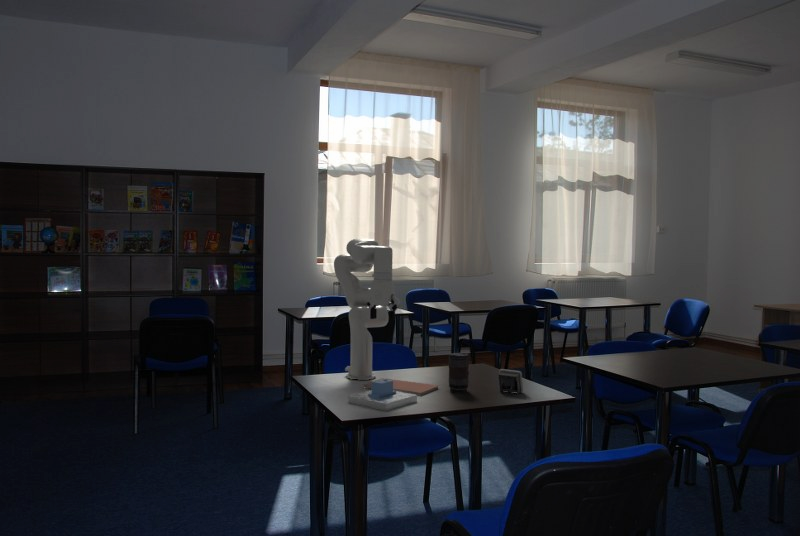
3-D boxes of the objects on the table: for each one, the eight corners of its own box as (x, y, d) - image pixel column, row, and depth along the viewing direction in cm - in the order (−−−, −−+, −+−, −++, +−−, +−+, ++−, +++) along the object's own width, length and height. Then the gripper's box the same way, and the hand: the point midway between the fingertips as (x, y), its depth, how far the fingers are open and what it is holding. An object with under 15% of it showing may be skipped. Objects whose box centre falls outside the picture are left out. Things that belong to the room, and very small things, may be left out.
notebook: (361, 389, 261) (361, 384, 261) (382, 382, 276) (382, 377, 275) (419, 397, 247) (419, 392, 247) (439, 389, 262) (439, 384, 262)
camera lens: (457, 388, 263) (457, 351, 262) (472, 391, 257) (473, 354, 257) (444, 391, 257) (444, 353, 257) (459, 394, 251) (460, 356, 251)
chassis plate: (348, 402, 236) (348, 395, 236) (379, 394, 250) (380, 388, 250) (385, 410, 225) (385, 403, 225) (416, 401, 239) (416, 394, 239)
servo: (377, 404, 233) (377, 382, 233) (367, 402, 236) (368, 380, 236) (396, 399, 242) (396, 377, 241) (387, 397, 244) (387, 376, 244)
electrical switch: (523, 392, 256) (523, 370, 255) (519, 396, 252) (518, 373, 250) (501, 390, 261) (501, 367, 260) (496, 393, 256) (496, 370, 255)
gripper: (360, 276, 260) (360, 318, 260) (393, 278, 249) (393, 322, 249) (372, 276, 266) (372, 317, 266) (405, 277, 255) (405, 320, 255)
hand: (382, 319), depth 258 cm, fingers open, 9 cm apart
